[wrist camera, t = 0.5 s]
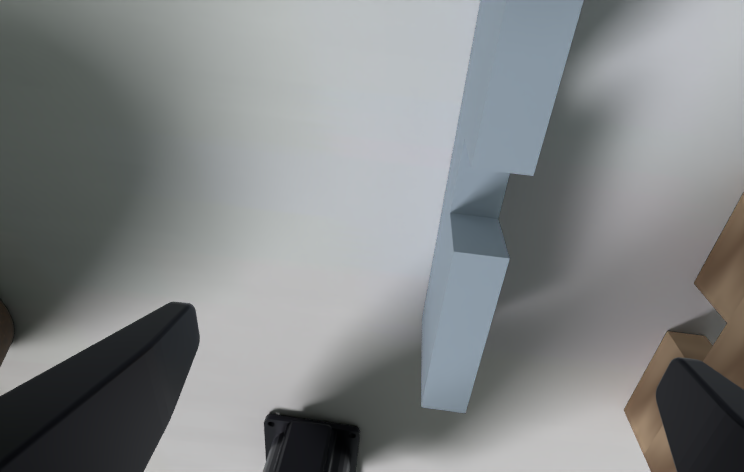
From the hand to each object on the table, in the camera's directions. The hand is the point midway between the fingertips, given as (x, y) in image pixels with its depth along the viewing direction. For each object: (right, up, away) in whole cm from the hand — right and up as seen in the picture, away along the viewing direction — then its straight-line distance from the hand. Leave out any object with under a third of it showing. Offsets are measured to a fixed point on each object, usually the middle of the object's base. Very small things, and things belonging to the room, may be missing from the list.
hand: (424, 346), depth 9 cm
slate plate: (+4, +6, +12) cm, 14 cm away
